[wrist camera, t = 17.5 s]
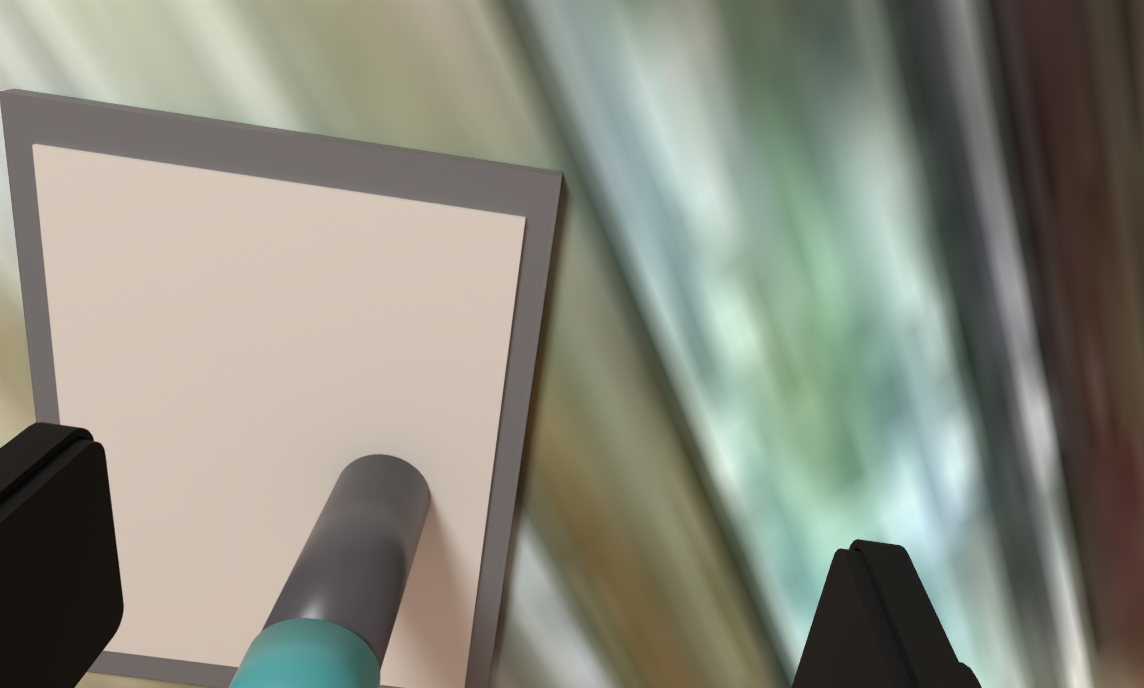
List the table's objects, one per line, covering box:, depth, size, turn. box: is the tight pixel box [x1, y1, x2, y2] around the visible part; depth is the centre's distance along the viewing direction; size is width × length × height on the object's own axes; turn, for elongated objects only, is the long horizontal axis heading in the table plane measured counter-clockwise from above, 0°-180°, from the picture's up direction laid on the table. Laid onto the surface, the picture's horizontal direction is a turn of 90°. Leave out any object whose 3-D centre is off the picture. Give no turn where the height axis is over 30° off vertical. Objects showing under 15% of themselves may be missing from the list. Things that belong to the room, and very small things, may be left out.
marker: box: [228, 454, 431, 688], centre depth 27 cm, size 4×4×12 cm
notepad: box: [0, 89, 563, 688], centre depth 32 cm, size 18×24×1 cm
